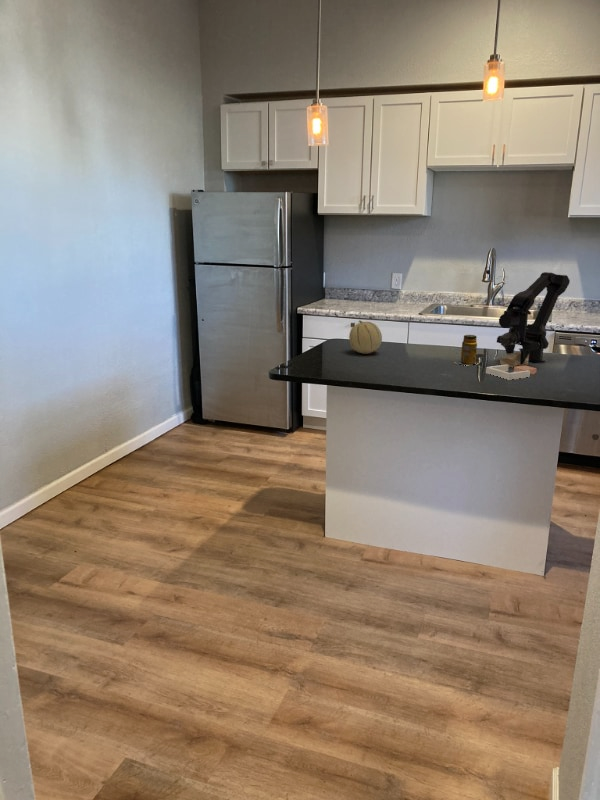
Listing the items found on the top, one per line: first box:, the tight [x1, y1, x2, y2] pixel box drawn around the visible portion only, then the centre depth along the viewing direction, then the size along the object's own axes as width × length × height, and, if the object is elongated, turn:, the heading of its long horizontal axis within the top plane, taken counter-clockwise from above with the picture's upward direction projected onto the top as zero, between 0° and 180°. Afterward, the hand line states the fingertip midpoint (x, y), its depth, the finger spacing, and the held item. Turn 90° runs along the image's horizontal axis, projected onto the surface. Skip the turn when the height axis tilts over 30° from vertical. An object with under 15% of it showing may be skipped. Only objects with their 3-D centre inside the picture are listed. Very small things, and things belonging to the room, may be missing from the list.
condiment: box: [453, 334, 480, 367], centre depth 257 cm, size 7×8×12 cm
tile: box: [513, 364, 537, 375], centre depth 243 cm, size 6×6×2 cm
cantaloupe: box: [348, 320, 383, 355], centre depth 276 cm, size 15×15×15 cm
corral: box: [485, 364, 530, 381], centre depth 239 cm, size 11×12×2 cm
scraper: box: [499, 351, 529, 369], centre depth 256 cm, size 11×7×5 cm, turn 117°
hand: (515, 362), depth 256 cm, fingers open, 6 cm apart
